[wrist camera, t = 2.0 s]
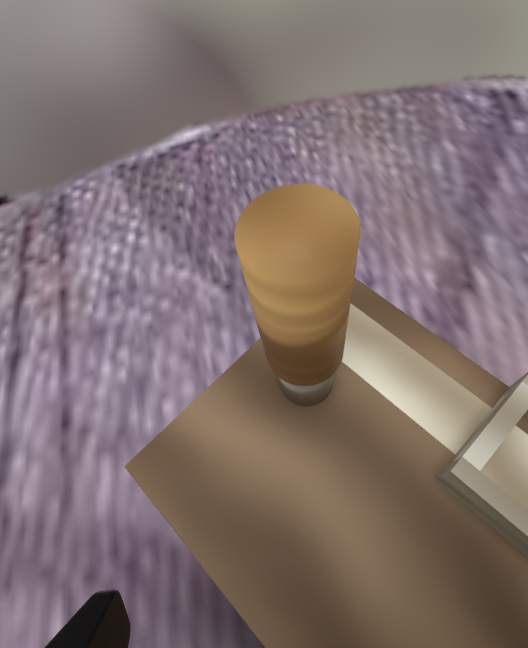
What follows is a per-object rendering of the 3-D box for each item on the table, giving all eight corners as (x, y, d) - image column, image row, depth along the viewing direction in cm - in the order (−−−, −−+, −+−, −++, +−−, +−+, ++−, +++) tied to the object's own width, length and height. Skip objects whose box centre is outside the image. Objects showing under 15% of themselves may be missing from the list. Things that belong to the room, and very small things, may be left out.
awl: (308, 425, 21) (299, 307, 10) (260, 381, 22) (209, 236, 12) (353, 378, 22) (387, 224, 11) (304, 338, 23) (293, 166, 13)
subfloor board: (558, 1007, 13) (645, 1177, 10) (135, 470, 22) (101, 457, 19) (766, 591, 17) (881, 603, 14) (336, 279, 26) (339, 239, 23)
